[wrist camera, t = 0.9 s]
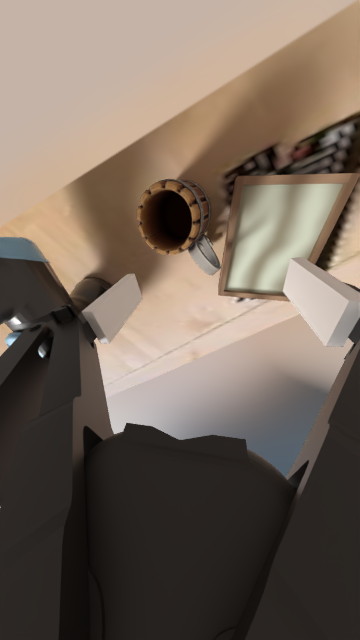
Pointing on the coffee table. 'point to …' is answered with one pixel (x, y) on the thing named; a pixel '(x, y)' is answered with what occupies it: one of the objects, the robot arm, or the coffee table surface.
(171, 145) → the coffee table surface
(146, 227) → the mug
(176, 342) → the coffee table surface
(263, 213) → the framed mirror
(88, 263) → the coffee table surface
